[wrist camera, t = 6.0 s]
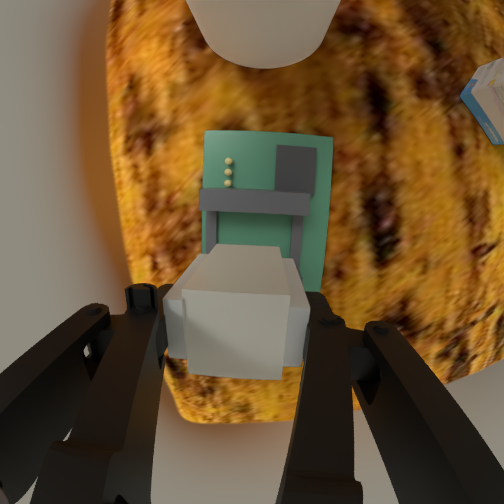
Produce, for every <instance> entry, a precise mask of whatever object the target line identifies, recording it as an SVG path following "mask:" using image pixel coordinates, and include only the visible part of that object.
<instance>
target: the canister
mask: <svg viewBox="0 0 504 504" xmlns="http://www.w3.org/2000/svg"><path fill="white" fill-rule="evenodd" d="M340 1H341V0H186V2H187V4H188V6H189V8H190V10H191V12H192V14H193V16H194V18H195V20H196V22H197V24H198V26H199V28H200V30H201V32H202V34H203V37H204V39H205V41H206V42H207V44H208V45H209V47H210V48H211V49H212V50H213V51H214V52H215V53H217V54H218V55H219V56H221V57H222V58H224V59H226V60H228V61H230V62H232V63H235V64H238V65H241V66H245V67H250V68H260V69H270V68H279V67H285V66H289V65H292V64H295V63H297V62H300V61H302V60H304V59H305V58H307V57H308V56H310V55H311V54H312V53H314V52H315V51H316V50H317V48H318V47H319V46H320V44H321V43H322V41H323V39H324V37H325V34H326V32H327V30H328V28H329V25H330V23H331V21H332V19H333V16H334V14H335V12H336V10H337V7H338V5H339V3H340Z"/></svg>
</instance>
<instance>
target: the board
mask: <svg viewBox="0 0 504 504" xmlns="http://www.w3.org/2000/svg"><path fill="white" fill-rule="evenodd" d="M332 156H333V137H326V136H317V135H307V134H295V133H281V132H264V131H205V138H204V161H203V188H202V189H199V211H202V254H209V253H210V252H211V250H212V249H213V248H214V246H215V245H216V244H233V245H256V246H277V247H279V248H280V252H281V256H282V258H293V260H294V263H295V265H296V268H297V271H298V274H299V277H300V279H301V282H302V285H303V288H304V291H310V292H320V289H321V282H322V274H323V266H324V257H325V248H326V239H327V229H328V218H329V206H330V192H331V176H332Z"/></svg>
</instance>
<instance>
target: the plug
mask: <svg viewBox="0 0 504 504" xmlns="http://www.w3.org/2000/svg"><path fill="white" fill-rule="evenodd" d="M290 296H291V295H290V290H289V286H288V282H287V277H286V273H285V269H284V264H283V260H282V256H281V252H280V248H279V247H277V246H256V245H233V244H216V245H215V246H214V248H213V249H212V250H211V252H210V253H209V254H208V256H207V257H206V258H205V259H204V261H203V262H202V263H201V265H200V266H199V267H198V269H197V270H196V271H195V272H194V274H193V275H192V276H191V278H190V279H189V280H188V282H187V283H186V284H185V286H184V287H183V288H182V297H184V313H185V329H186V342H187V354H188V356H187V363H188V373H190V374H199V375H208V376H218V377H229V378H243V379H263V380H281V378H282V370H283V355H284V347H285V338H286V330H287V321H288V311H289V304H290Z"/></svg>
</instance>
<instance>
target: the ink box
mask: <svg viewBox="0 0 504 504" xmlns="http://www.w3.org/2000/svg"><path fill="white" fill-rule="evenodd" d="M460 98H461V99H462V101H463V102H464V103H465V105H466V106H467V107H468V109H469V110H470V111H471V113H472V114H473V115H474V117H475V118H476V120H477V121H478V123H479V124H480V126H481V127H482V129H483V130H484V132H485V133H486V135H487V136H488V138H489V139H490V141H491V143H492V144H493V145H501V144H504V57H503V58H500V59H497V60H495V61H492V62H490V63H487V64H485V65H482V66H480V67H478V69H477V70H476V72H475V73H474V75H473V76H472V78H471V79H470V81H469V82H468V84H467V85H466V87H465V88H464V90H463V91H462V93H461V94H460Z"/></svg>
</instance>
